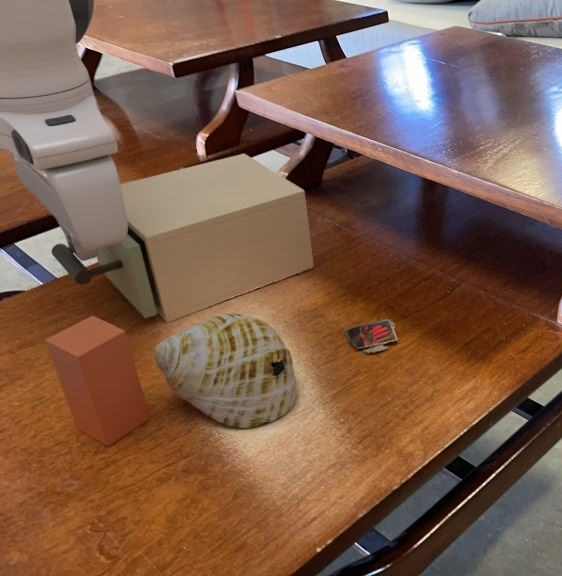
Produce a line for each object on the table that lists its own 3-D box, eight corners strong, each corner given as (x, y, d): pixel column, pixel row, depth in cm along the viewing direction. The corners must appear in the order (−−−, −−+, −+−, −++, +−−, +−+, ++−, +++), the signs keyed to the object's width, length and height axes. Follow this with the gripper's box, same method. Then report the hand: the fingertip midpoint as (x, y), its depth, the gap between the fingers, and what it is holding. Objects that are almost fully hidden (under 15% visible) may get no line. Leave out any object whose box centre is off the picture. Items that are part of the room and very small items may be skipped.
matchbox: (341, 333, 74) (340, 329, 74) (388, 318, 77) (387, 314, 77) (362, 358, 71) (362, 354, 71) (410, 340, 74) (410, 336, 73)
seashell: (321, 403, 64) (250, 332, 58) (224, 468, 64) (141, 404, 57) (296, 335, 72) (231, 265, 65) (208, 392, 71) (133, 328, 64)
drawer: (98, 335, 72) (76, 264, 67) (56, 284, 79) (34, 216, 75) (288, 267, 83) (278, 203, 79) (235, 228, 91) (225, 167, 87)
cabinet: (167, 322, 75) (145, 237, 70) (116, 270, 83) (94, 190, 78) (314, 268, 85) (304, 190, 80) (256, 226, 93) (244, 153, 88)
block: (108, 447, 60) (77, 356, 56) (76, 429, 62) (44, 339, 57) (150, 418, 63) (125, 330, 59) (119, 402, 65) (92, 314, 60)
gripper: (-29, 94, 71) (17, 226, 78) (38, 157, 58) (86, 307, 66) (44, 82, 75) (82, 209, 82) (122, 139, 62) (159, 282, 69)
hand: (84, 253), depth 74 cm, fingers closed
